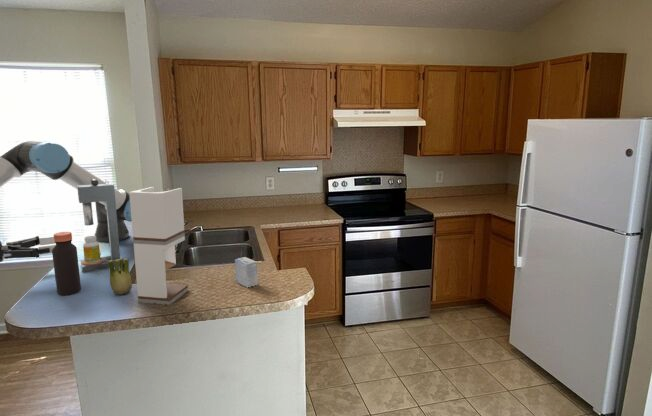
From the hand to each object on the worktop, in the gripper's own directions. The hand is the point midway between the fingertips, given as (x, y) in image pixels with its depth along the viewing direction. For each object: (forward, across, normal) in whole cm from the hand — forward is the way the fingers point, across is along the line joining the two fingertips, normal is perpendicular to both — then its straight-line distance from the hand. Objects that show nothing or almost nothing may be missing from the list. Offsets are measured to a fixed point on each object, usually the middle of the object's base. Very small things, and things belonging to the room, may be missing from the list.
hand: (60, 243), depth 152 cm
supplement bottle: (+10, 0, -9) cm, 13 cm away
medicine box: (+53, +49, -11) cm, 73 cm away
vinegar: (+1, +24, -11) cm, 27 cm away
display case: (+26, +45, -11) cm, 53 cm away
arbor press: (+13, +1, -11) cm, 17 cm away
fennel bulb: (+15, +35, -11) cm, 40 cm away
